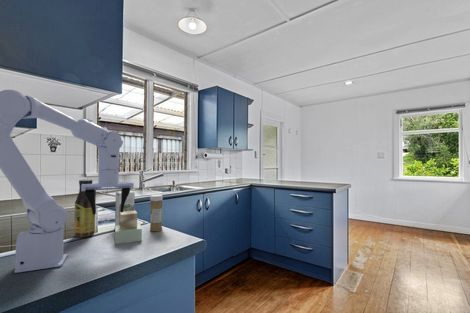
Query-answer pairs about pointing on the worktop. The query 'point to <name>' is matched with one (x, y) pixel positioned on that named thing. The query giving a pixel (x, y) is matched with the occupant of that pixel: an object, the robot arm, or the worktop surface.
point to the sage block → (128, 234)
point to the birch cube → (128, 220)
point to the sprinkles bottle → (156, 212)
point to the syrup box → (127, 206)
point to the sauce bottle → (83, 213)
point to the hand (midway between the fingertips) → (108, 212)
